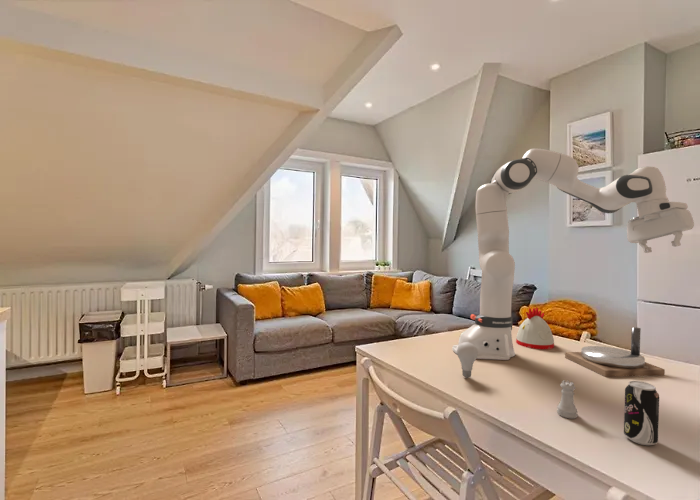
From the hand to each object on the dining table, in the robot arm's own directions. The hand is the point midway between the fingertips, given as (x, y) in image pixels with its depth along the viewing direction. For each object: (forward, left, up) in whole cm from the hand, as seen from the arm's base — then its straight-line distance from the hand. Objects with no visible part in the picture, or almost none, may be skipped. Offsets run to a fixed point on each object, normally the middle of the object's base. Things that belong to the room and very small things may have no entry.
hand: (661, 249), depth 127 cm
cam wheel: (-18, -1, -38) cm, 42 cm away
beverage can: (-49, -46, -40) cm, 78 cm away
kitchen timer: (-29, +26, -40) cm, 56 cm away
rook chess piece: (-57, -34, -40) cm, 78 cm away
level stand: (-18, -1, -40) cm, 44 cm away
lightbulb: (-72, -9, -40) cm, 83 cm away
